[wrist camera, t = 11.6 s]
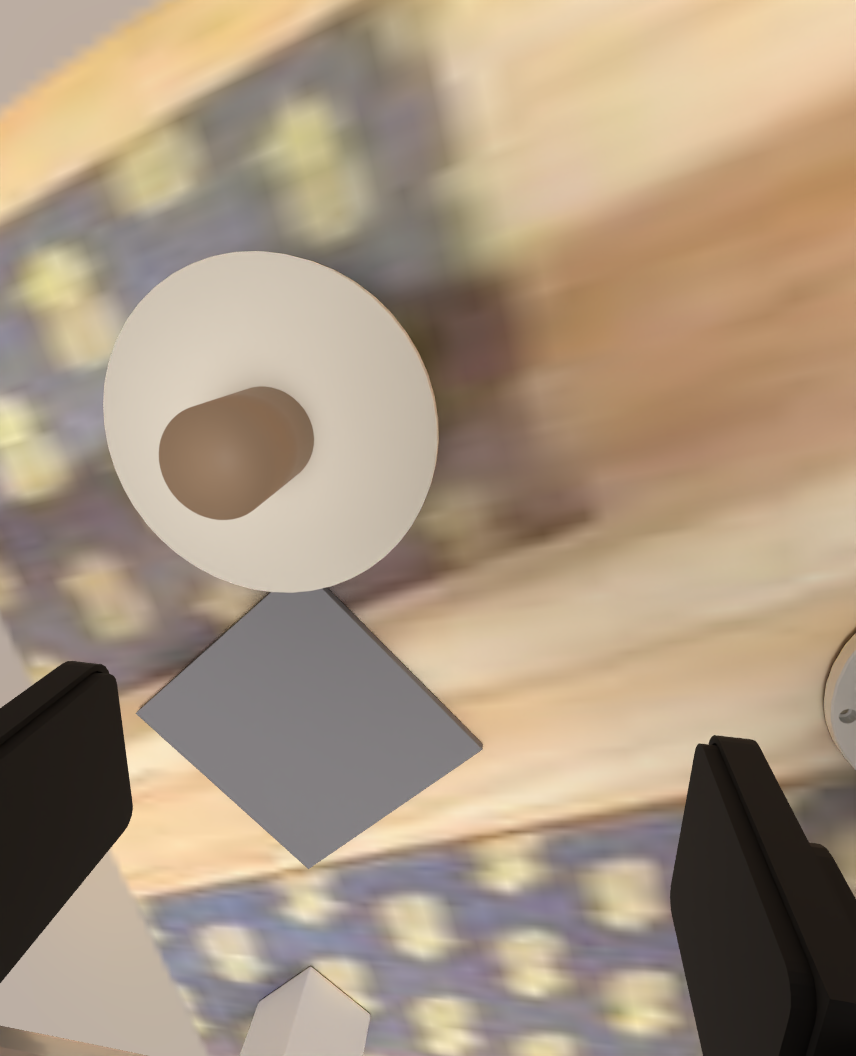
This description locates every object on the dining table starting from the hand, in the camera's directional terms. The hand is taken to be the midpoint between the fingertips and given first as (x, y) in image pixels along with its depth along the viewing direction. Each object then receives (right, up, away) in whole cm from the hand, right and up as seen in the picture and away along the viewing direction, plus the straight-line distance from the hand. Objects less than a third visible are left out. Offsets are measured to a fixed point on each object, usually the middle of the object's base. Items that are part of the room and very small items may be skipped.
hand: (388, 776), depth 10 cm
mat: (-7, -8, +29) cm, 31 cm away
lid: (-6, +8, +17) cm, 20 cm away
